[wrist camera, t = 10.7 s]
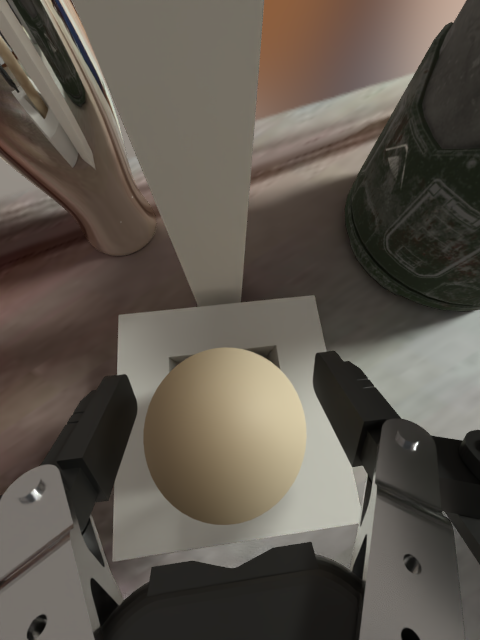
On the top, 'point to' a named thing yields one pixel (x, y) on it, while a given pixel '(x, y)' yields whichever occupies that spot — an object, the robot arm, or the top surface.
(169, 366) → the kiosk
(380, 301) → the top surface
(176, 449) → the peg
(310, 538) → the top surface
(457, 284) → the canister
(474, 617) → the top surface
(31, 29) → the beer glass
